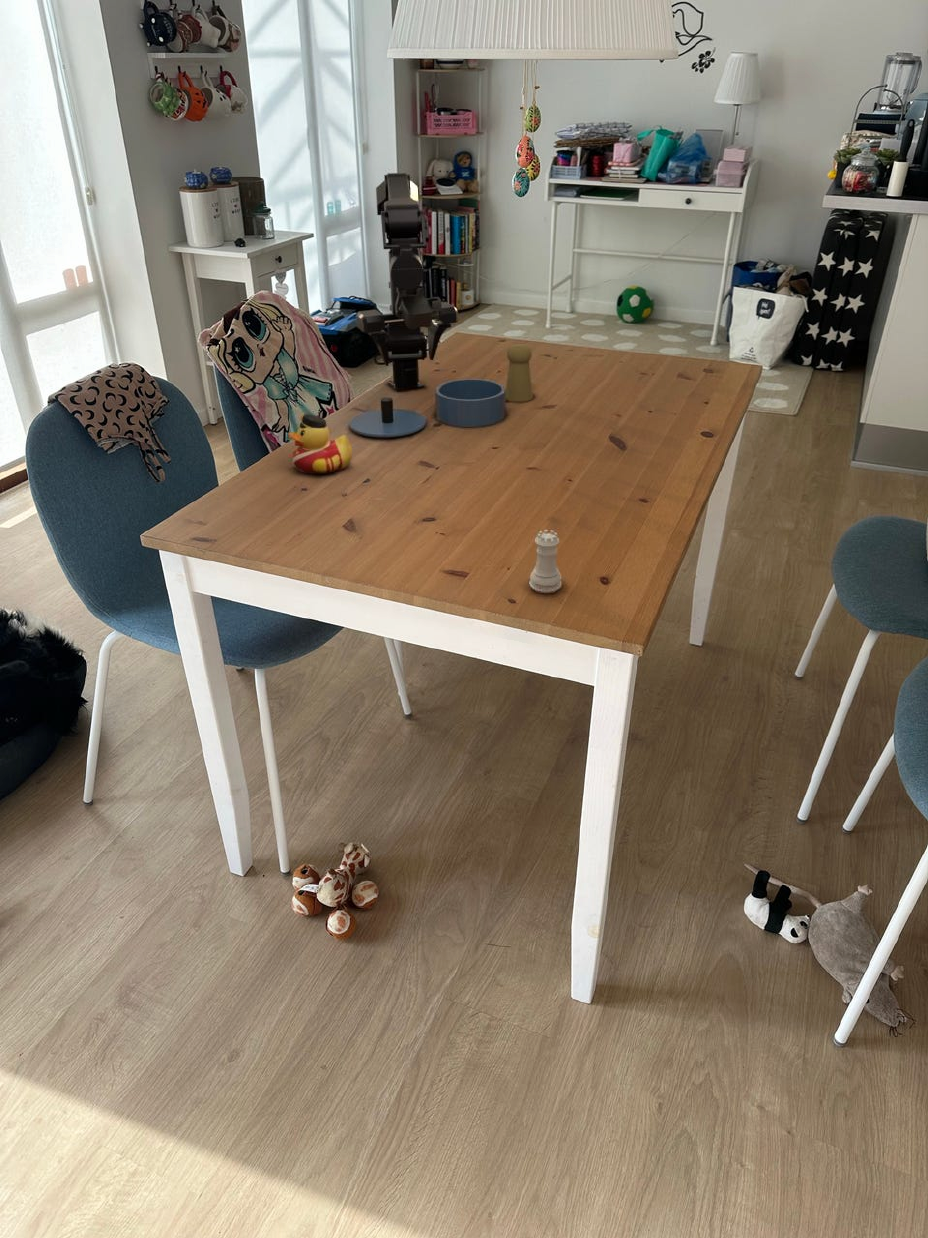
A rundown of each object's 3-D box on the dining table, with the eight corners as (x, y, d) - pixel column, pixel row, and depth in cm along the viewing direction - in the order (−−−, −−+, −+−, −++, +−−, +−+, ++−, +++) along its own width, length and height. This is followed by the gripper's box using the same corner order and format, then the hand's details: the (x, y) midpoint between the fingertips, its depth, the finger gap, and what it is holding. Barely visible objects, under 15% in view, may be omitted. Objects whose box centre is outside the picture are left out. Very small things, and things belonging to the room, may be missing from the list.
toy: (289, 462, 159) (282, 408, 154) (347, 454, 162) (342, 401, 157) (297, 481, 152) (290, 425, 147) (358, 473, 155) (353, 418, 149)
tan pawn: (522, 403, 185) (523, 350, 179) (499, 398, 188) (499, 346, 183) (538, 395, 189) (539, 344, 184) (514, 390, 193) (515, 339, 187)
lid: (340, 420, 178) (338, 393, 175) (410, 409, 183) (409, 383, 180) (363, 445, 166) (361, 416, 163) (437, 432, 171) (436, 404, 168)
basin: (426, 409, 183) (425, 384, 180) (487, 400, 187) (487, 375, 185) (452, 431, 172) (451, 404, 169) (516, 420, 176) (516, 394, 174)
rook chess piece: (529, 577, 122) (531, 526, 118) (561, 578, 122) (564, 527, 118) (528, 594, 119) (530, 541, 114) (561, 595, 118) (564, 542, 114)
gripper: (370, 292, 153) (375, 380, 162) (468, 281, 159) (469, 367, 168) (352, 279, 162) (358, 364, 170) (446, 270, 168) (448, 352, 176)
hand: (409, 362), depth 171 cm, fingers open, 9 cm apart
